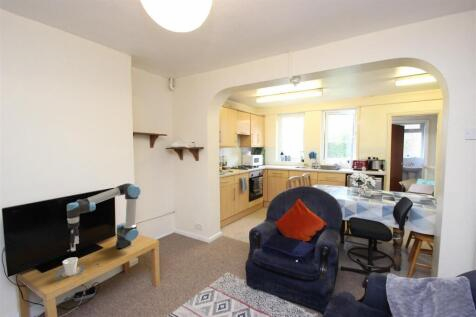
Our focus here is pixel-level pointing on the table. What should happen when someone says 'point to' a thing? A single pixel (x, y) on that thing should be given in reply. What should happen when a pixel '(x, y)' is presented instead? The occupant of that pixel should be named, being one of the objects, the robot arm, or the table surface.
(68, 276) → the coaster
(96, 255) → the table surface
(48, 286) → the table surface
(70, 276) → the placemat
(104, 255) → the table surface
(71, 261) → the cup
